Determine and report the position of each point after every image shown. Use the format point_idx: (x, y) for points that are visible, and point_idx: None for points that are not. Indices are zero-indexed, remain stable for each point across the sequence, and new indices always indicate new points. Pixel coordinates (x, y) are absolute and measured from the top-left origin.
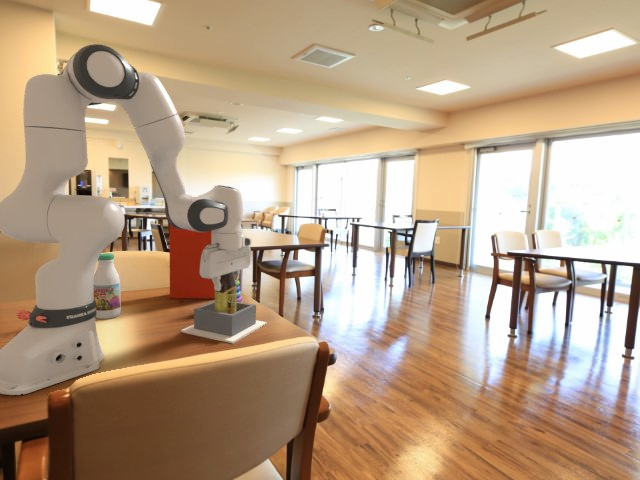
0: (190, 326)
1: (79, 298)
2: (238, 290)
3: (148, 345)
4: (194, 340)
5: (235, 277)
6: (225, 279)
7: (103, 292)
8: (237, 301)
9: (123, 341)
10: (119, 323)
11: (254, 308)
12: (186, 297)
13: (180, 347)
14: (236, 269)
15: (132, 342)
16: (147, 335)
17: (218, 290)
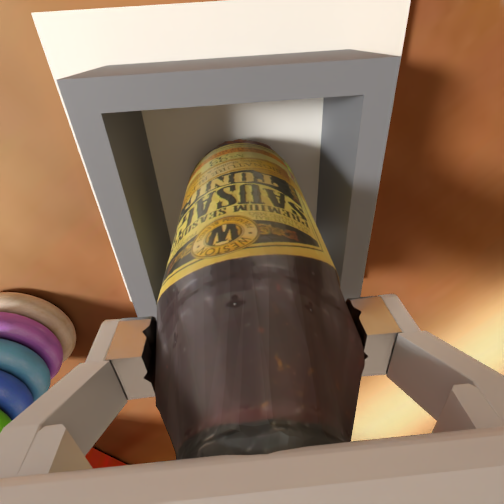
0: None
1: None
2: None
3: (496, 270)
4: (418, 185)
5: (98, 390)
6: (336, 373)
7: None
8: (1, 317)
9: (478, 335)
10: (363, 417)
11: (90, 75)
12: (99, 454)
13: (497, 178)
14: (110, 495)
15: (481, 315)
16: (419, 325)
17: (393, 298)
